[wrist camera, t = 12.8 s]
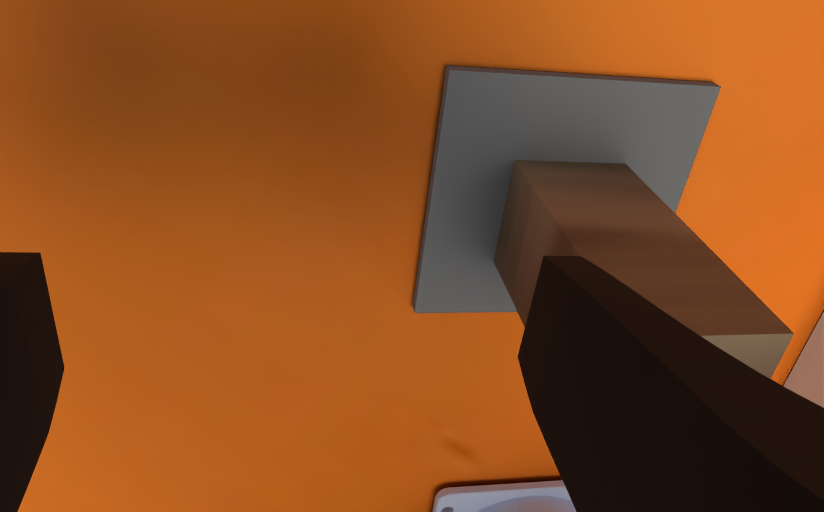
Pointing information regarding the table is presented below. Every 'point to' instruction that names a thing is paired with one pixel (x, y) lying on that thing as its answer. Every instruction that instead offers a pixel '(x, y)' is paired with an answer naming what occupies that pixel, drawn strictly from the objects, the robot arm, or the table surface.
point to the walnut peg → (630, 253)
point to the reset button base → (810, 368)
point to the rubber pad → (539, 141)
